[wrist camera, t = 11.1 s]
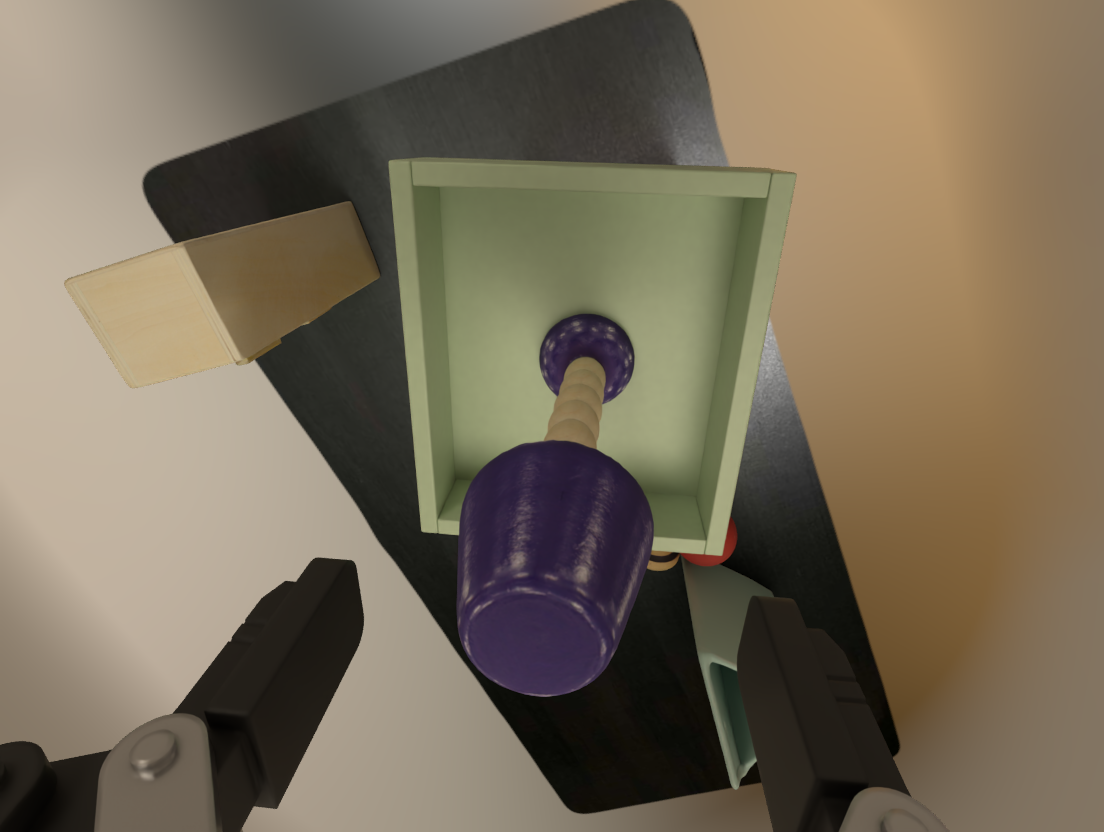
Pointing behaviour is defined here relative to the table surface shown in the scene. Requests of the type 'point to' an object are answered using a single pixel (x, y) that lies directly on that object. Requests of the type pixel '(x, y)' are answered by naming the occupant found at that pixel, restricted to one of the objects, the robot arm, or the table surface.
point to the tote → (588, 288)
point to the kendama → (669, 559)
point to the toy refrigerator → (223, 293)
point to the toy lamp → (556, 530)
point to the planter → (723, 653)
